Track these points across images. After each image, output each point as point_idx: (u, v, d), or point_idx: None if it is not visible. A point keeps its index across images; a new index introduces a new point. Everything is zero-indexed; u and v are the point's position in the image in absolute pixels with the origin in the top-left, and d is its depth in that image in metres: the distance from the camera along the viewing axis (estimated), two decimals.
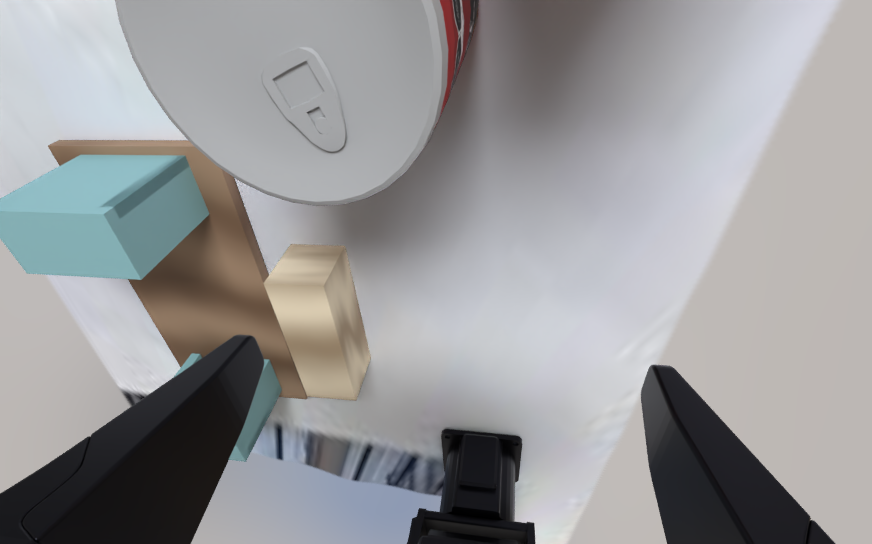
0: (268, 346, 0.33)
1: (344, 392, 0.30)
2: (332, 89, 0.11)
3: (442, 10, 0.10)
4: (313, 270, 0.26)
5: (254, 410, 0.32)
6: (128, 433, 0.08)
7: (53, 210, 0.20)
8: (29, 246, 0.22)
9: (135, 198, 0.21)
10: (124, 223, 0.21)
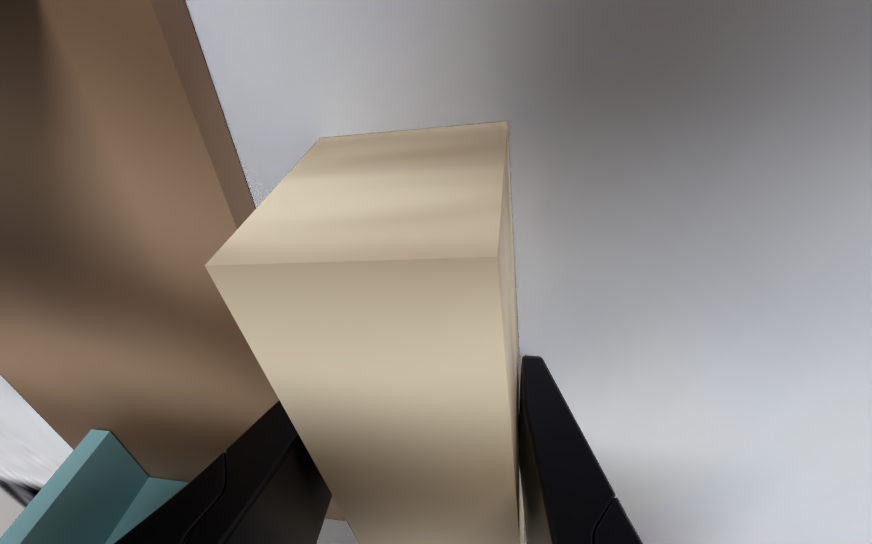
0: None
1: None
2: None
3: None
4: (418, 200, 0.06)
5: None
6: (265, 449, 0.08)
7: None
8: None
9: None
10: None
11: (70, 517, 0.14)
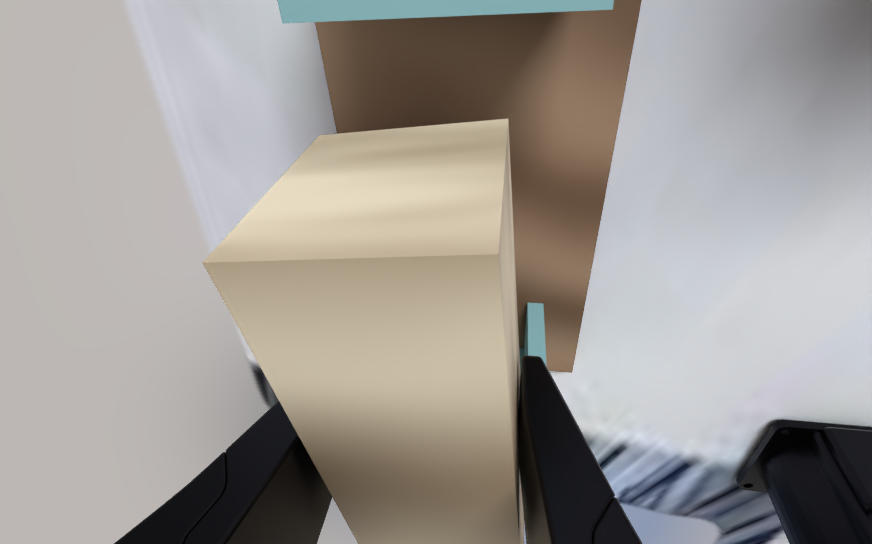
0: (554, 278, 0.20)
1: None
2: None
3: None
4: (418, 197, 0.06)
5: None
6: (265, 449, 0.08)
7: None
8: None
9: None
10: None
11: None
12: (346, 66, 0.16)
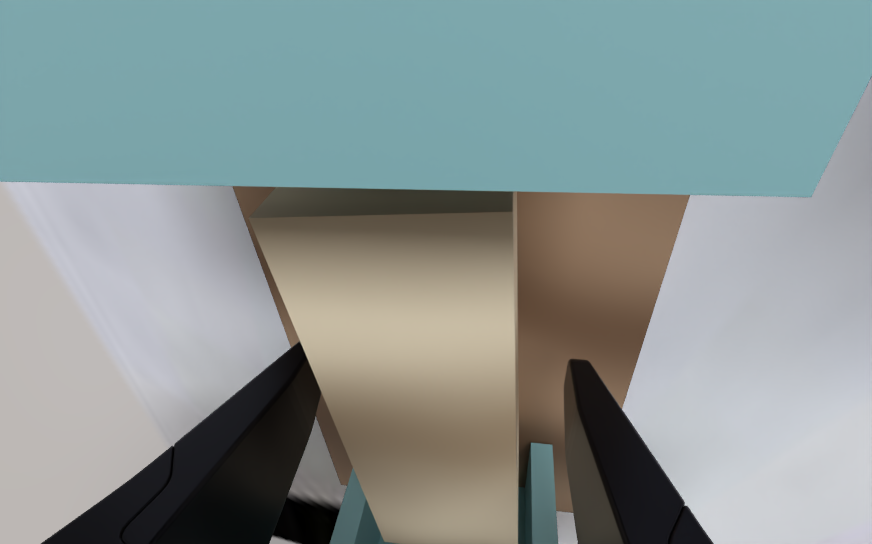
0: None
1: (489, 540, 0.11)
2: None
3: None
4: None
5: None
6: (213, 443, 0.08)
7: None
8: None
9: None
10: None
11: None
12: None
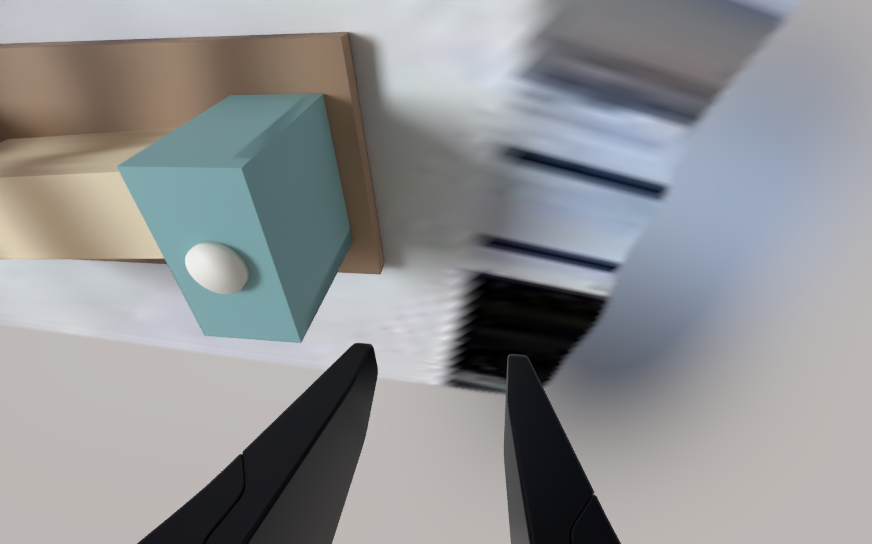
0: (192, 85, 0.17)
1: None
2: None
3: None
4: None
5: (220, 129, 0.14)
6: (282, 451, 0.08)
7: None
8: None
9: None
10: None
11: None
12: None
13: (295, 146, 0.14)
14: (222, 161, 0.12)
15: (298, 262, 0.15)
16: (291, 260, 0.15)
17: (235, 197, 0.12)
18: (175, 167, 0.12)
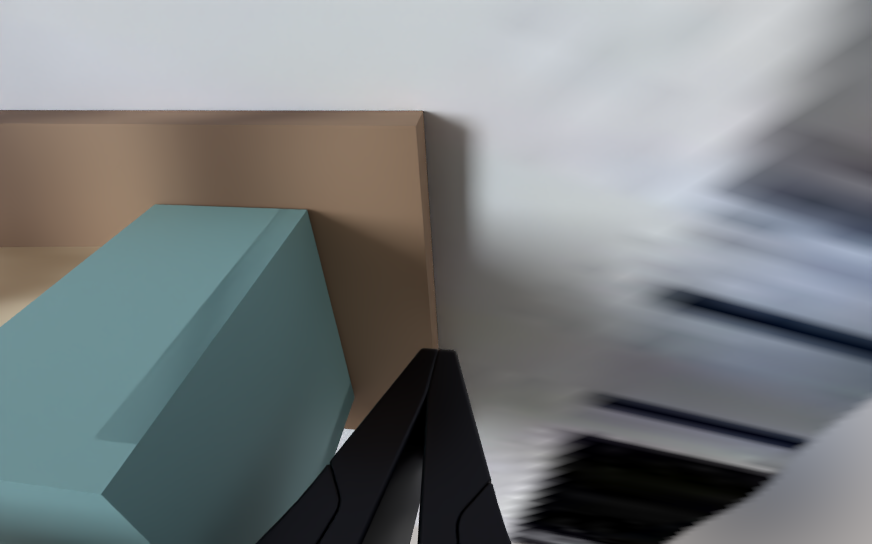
0: (150, 188, 0.10)
1: None
2: None
3: None
4: None
5: (106, 312, 0.07)
6: (371, 460, 0.07)
7: None
8: None
9: None
10: None
11: None
12: None
13: (252, 335, 0.08)
14: (68, 454, 0.05)
15: (259, 529, 0.08)
16: (243, 542, 0.08)
17: (102, 524, 0.06)
18: None
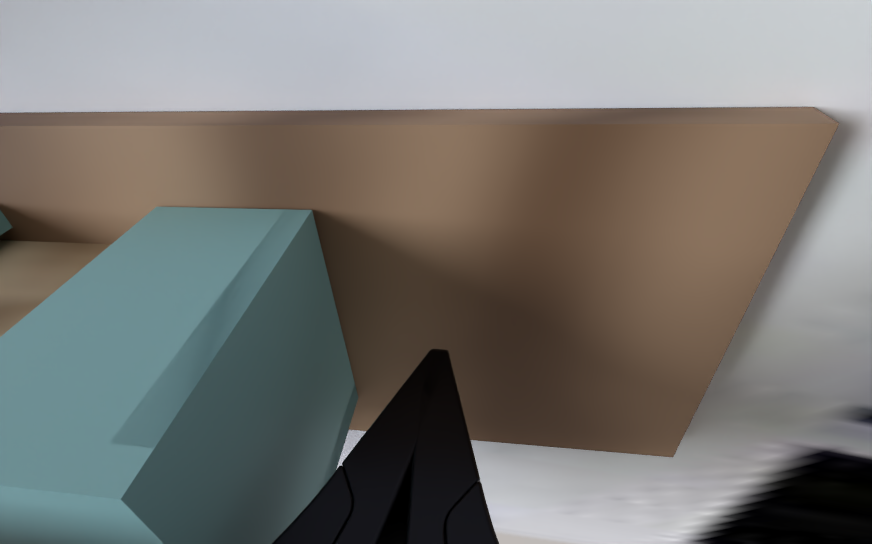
0: (466, 196, 0.09)
1: None
2: None
3: None
4: None
5: (113, 316, 0.07)
6: (383, 462, 0.07)
7: None
8: None
9: None
10: None
11: None
12: None
13: (261, 336, 0.08)
14: (84, 460, 0.05)
15: (270, 532, 0.08)
16: None
17: (119, 529, 0.05)
18: None
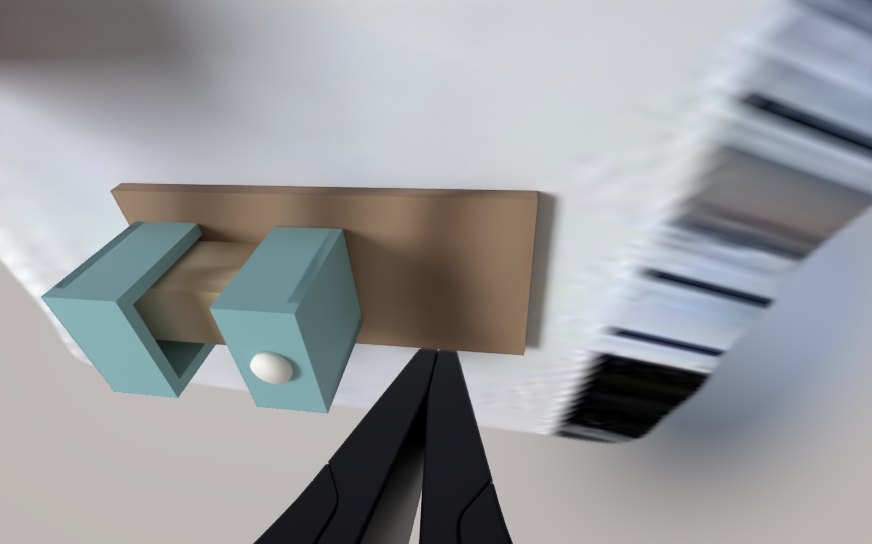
0: (405, 223, 0.22)
1: None
2: None
3: None
4: None
5: (273, 269, 0.20)
6: (369, 460, 0.07)
7: None
8: (135, 377, 0.22)
9: (79, 270, 0.21)
10: (72, 287, 0.20)
11: None
12: None
13: (325, 278, 0.20)
14: (280, 306, 0.18)
15: (326, 357, 0.21)
16: (322, 358, 0.21)
17: (288, 328, 0.18)
18: (249, 311, 0.18)
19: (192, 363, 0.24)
